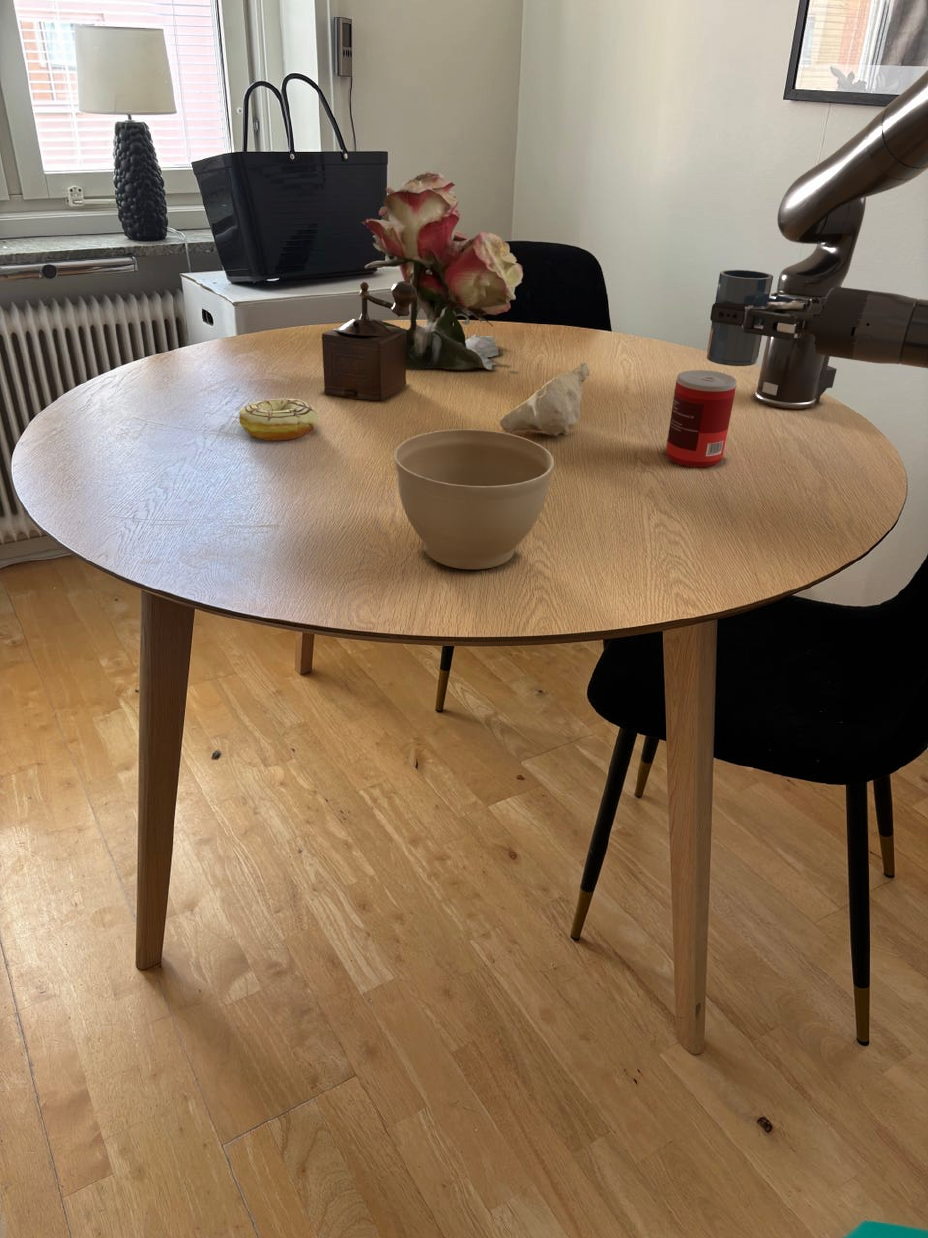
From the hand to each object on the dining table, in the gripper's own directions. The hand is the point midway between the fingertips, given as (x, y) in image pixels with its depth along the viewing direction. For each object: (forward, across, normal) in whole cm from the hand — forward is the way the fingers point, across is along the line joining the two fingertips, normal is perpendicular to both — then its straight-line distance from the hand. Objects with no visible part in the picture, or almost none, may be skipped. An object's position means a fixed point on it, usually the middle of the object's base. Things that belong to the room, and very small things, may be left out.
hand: (720, 306), depth 109 cm
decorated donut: (+54, +20, +21) cm, 61 cm away
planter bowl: (+13, +38, +21) cm, 45 cm away
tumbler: (-2, 0, +6) cm, 6 cm away
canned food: (+1, -4, +21) cm, 21 cm away
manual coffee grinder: (+53, -4, +21) cm, 57 cm away
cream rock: (+24, -5, +21) cm, 32 cm away
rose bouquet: (+59, -31, +21) cm, 70 cm away
